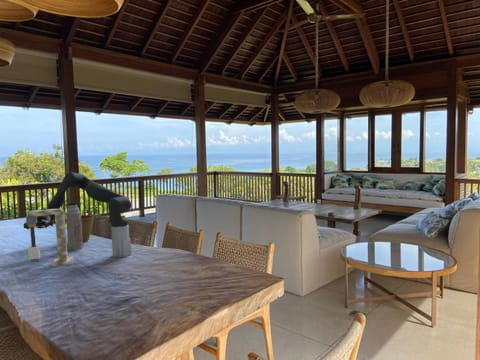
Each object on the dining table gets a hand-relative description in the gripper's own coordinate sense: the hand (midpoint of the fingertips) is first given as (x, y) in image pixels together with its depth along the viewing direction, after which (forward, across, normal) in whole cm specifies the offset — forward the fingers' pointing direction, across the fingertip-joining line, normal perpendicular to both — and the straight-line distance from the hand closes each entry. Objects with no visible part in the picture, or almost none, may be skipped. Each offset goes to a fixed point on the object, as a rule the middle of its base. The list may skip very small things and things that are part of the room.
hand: (36, 226), depth 182 cm
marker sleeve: (+11, 0, +14) cm, 18 cm away
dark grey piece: (+11, 0, +16) cm, 19 cm away
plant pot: (-31, +20, +19) cm, 41 cm away
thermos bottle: (-14, +17, +19) cm, 29 cm away
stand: (+11, +8, +18) cm, 23 cm away
